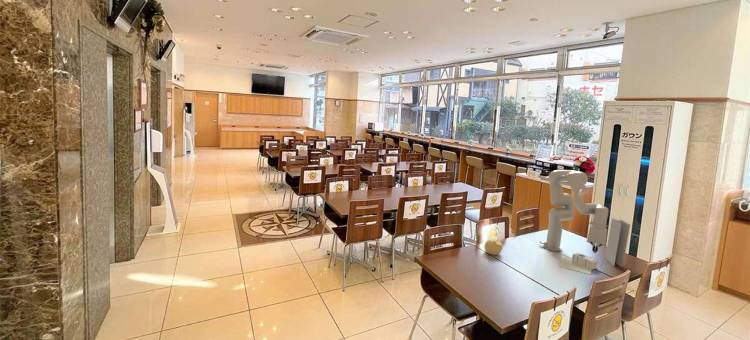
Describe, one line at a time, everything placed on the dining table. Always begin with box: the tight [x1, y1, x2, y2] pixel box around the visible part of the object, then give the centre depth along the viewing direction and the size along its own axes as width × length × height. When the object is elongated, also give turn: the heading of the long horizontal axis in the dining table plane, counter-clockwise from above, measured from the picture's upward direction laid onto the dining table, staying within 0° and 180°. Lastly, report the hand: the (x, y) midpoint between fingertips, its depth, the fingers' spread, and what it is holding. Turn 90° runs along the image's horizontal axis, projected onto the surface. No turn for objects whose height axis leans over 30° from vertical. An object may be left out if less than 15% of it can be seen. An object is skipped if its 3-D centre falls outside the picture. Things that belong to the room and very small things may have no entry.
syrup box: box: [571, 252, 599, 270], centre depth 242 cm, size 6×6×14 cm
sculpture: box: [484, 238, 503, 256], centre depth 254 cm, size 12×12×11 cm
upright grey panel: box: [604, 217, 631, 268], centre depth 248 cm, size 14×6×30 cm, turn 168°
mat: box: [559, 257, 592, 275], centre depth 241 cm, size 18×20×1 cm
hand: (594, 252), depth 234 cm, fingers closed
